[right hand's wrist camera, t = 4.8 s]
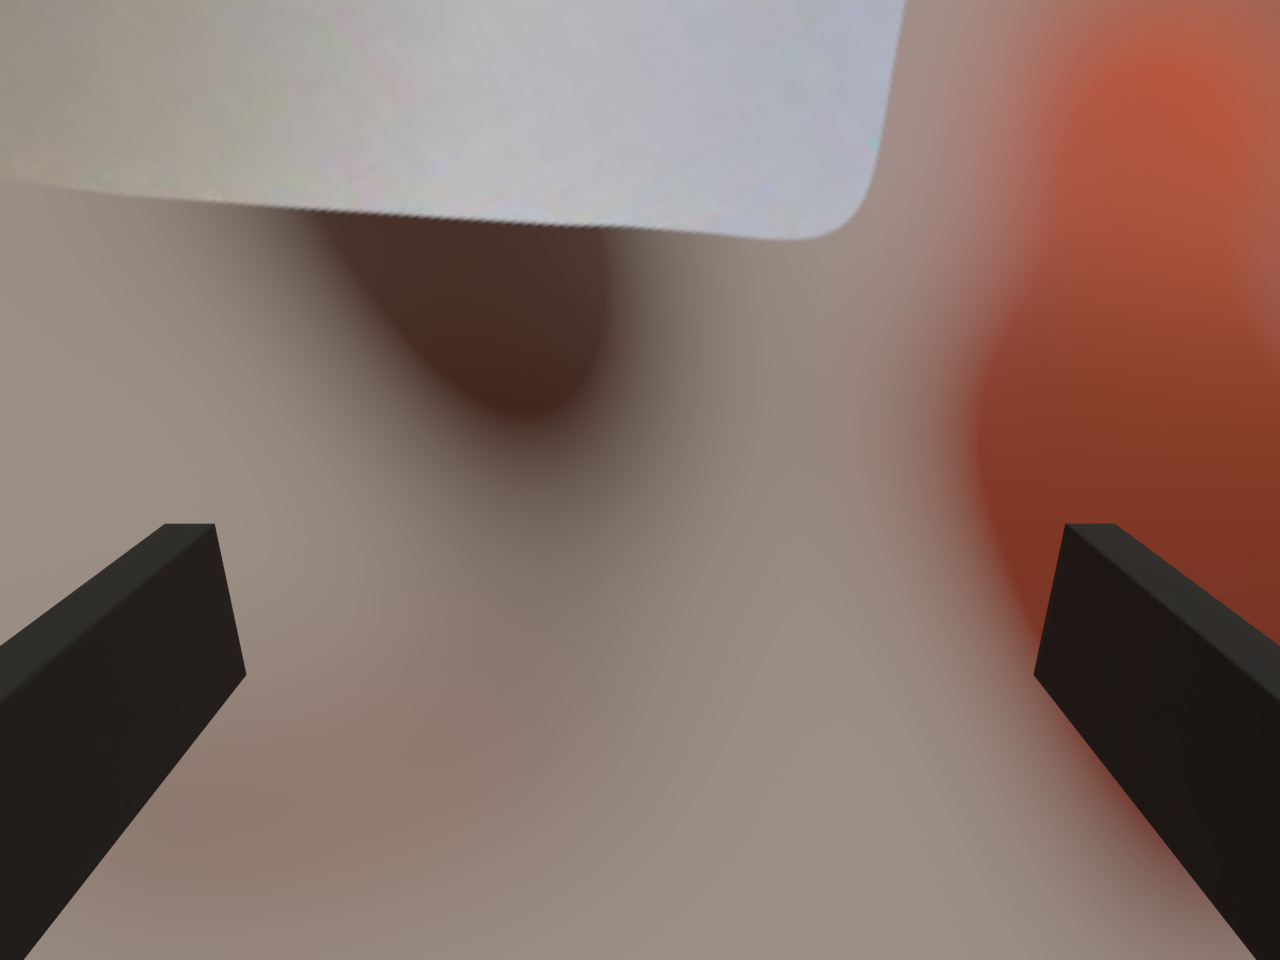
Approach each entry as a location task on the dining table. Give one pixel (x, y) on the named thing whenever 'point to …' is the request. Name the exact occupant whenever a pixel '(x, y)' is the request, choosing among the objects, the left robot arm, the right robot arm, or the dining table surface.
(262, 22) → the dining table surface
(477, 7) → the dining table surface
